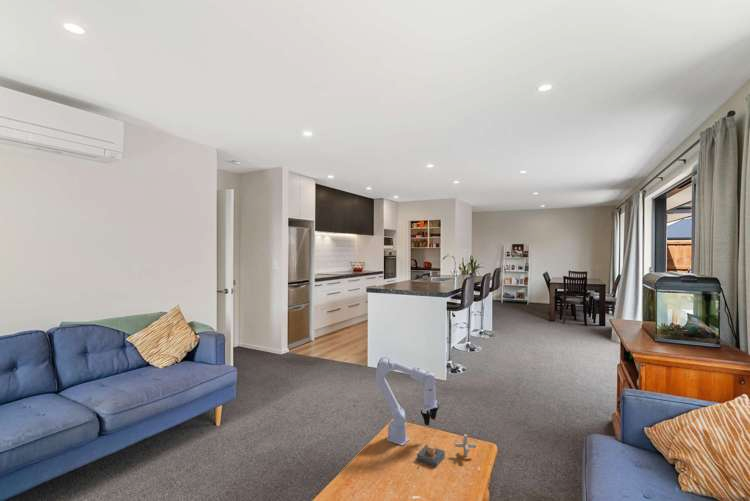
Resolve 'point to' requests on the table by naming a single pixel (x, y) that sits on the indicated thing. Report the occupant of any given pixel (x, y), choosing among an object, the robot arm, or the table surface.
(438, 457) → the grey square frame
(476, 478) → the table surface
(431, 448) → the tan wooden block
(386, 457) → the table surface
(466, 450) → the pipe connector
